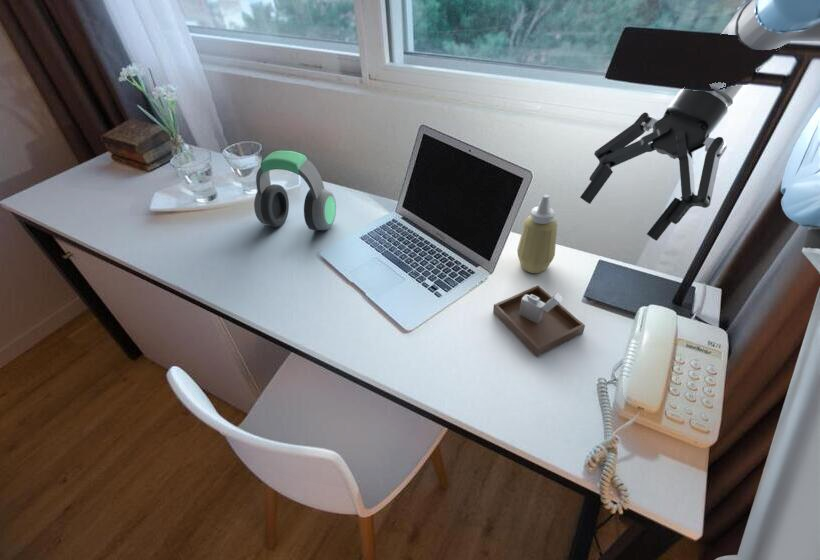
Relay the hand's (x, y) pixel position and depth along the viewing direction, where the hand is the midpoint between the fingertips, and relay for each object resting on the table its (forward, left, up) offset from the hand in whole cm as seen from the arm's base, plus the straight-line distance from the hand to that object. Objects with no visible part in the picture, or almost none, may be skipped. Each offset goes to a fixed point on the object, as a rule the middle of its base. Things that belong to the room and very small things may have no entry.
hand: (615, 218), depth 72 cm
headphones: (+62, +41, -22) cm, 77 cm away
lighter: (+3, +11, -21) cm, 24 cm away
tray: (+3, +11, -22) cm, 25 cm away
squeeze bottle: (+17, 0, -22) cm, 28 cm away
